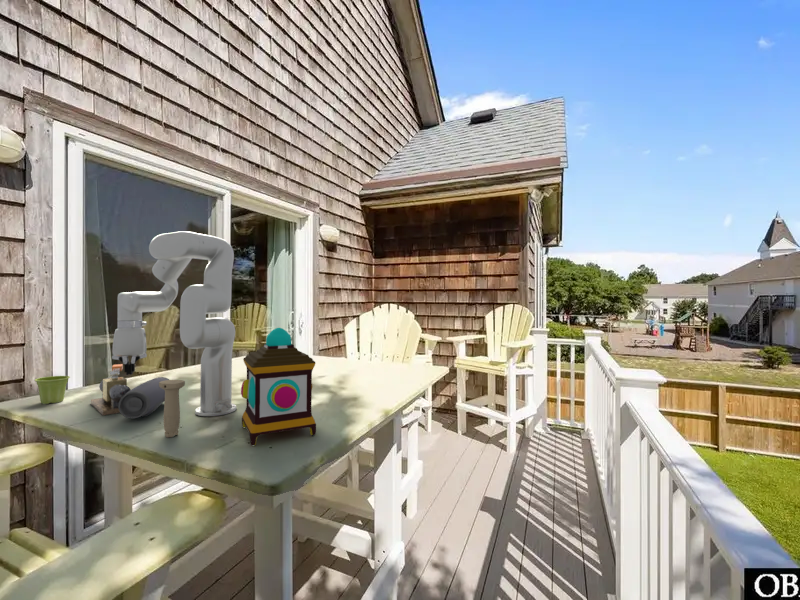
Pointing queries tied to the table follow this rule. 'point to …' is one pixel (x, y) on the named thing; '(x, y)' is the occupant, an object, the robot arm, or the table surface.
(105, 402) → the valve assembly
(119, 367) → the lever
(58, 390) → the plant pot
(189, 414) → the table surface
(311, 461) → the table surface
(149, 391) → the bluetooth speaker
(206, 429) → the table surface
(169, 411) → the handle
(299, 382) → the decorative lantern
